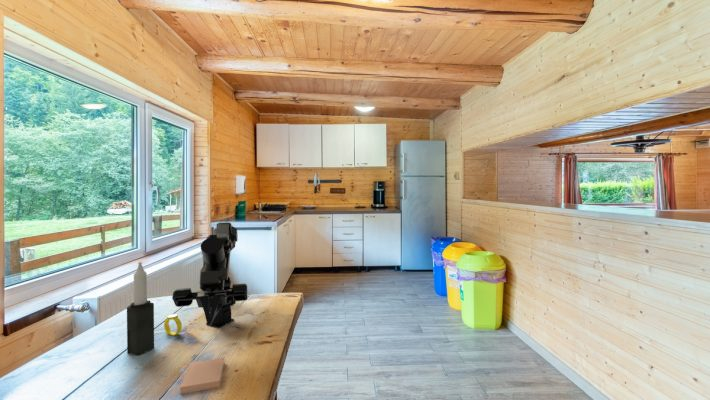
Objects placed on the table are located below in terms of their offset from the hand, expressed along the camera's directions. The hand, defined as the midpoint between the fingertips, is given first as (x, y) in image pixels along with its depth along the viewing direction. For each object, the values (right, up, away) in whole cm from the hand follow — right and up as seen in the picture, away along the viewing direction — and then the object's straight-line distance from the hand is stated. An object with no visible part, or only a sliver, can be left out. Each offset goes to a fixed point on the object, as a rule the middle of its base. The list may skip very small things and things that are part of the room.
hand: (209, 325), depth 79 cm
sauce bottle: (-21, -9, +42) cm, 47 cm away
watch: (-19, -9, +15) cm, 25 cm away
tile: (+2, -9, -7) cm, 12 cm away
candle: (-22, -9, +5) cm, 24 cm away
